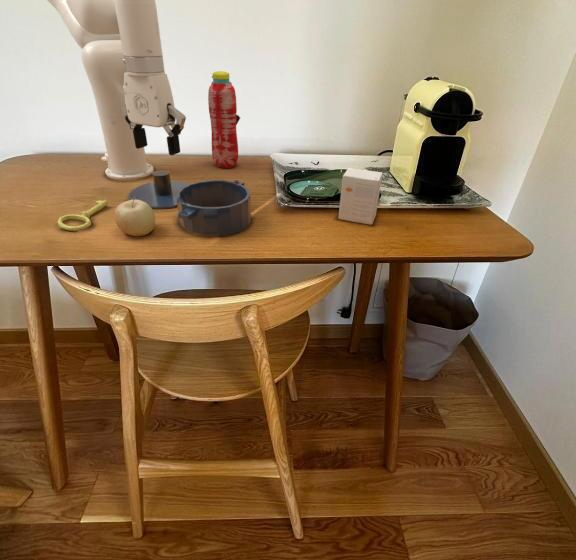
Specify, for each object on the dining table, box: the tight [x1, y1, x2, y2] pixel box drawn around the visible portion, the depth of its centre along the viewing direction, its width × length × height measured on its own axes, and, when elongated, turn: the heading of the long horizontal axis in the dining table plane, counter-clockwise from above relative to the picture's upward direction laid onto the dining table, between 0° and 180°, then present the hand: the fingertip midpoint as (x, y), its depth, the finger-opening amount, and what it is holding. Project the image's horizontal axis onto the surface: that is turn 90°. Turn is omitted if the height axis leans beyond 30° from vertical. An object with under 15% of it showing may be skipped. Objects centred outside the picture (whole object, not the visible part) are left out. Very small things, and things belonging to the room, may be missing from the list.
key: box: [57, 199, 109, 232], centre depth 86 cm, size 7×12×2 cm, turn 177°
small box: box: [337, 167, 383, 226], centre depth 89 cm, size 8×6×10 cm
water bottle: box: [207, 70, 241, 169], centre depth 112 cm, size 12×8×25 cm, turn 167°
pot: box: [177, 179, 252, 238], centre depth 86 cm, size 15×21×6 cm
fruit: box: [113, 197, 156, 237], centre depth 80 cm, size 8×7×8 cm
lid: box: [128, 169, 189, 210], centre depth 96 cm, size 16×16×6 cm
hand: (158, 150), depth 90 cm, fingers open, 9 cm apart
